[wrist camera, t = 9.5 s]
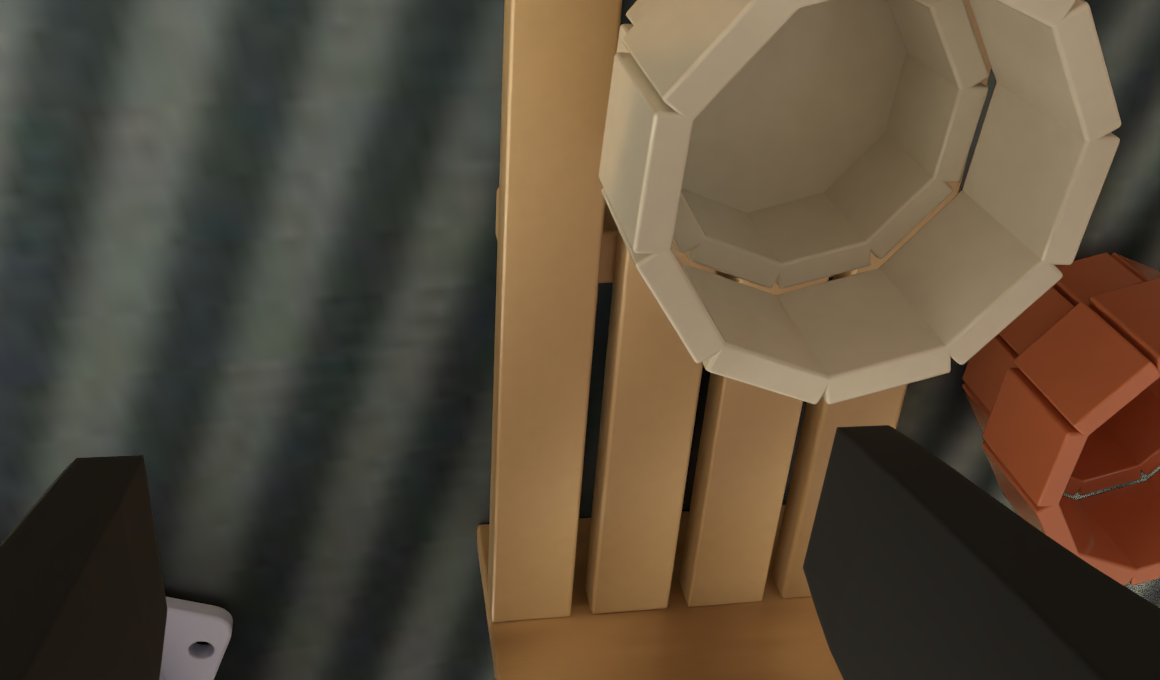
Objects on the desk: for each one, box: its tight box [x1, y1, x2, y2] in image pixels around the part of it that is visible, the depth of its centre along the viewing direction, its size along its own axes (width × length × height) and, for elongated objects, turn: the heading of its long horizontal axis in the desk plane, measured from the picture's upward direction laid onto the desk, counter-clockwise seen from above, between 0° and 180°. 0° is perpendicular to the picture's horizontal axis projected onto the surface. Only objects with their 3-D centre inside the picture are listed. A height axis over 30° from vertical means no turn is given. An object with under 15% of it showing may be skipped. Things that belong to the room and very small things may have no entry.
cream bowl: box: [598, 0, 1121, 404], centre depth 15 cm, size 6×6×4 cm
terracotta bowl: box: [962, 253, 1160, 585], centre depth 22 cm, size 6×6×4 cm
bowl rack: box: [477, 0, 991, 680], centre depth 18 cm, size 8×16×6 cm, turn 176°
